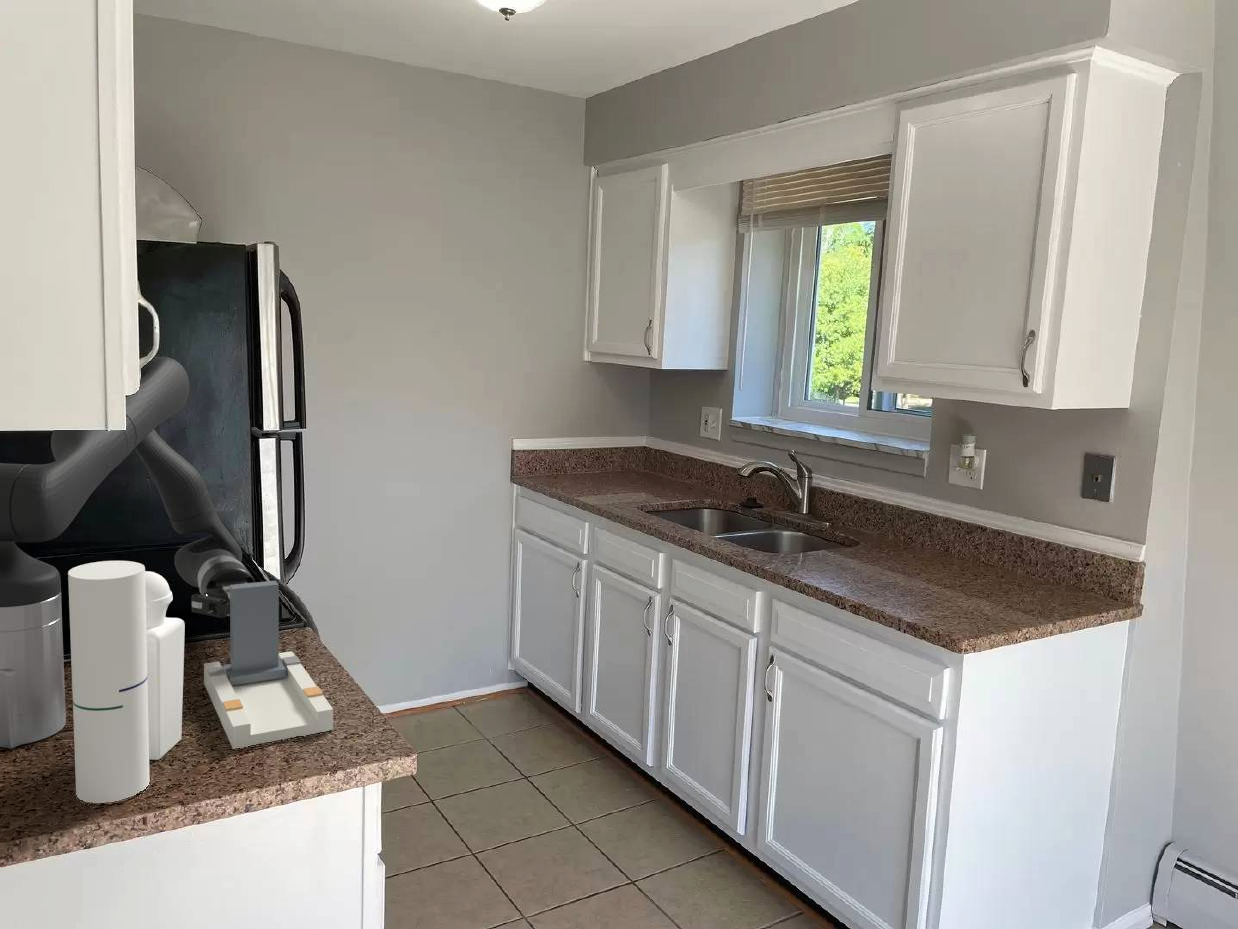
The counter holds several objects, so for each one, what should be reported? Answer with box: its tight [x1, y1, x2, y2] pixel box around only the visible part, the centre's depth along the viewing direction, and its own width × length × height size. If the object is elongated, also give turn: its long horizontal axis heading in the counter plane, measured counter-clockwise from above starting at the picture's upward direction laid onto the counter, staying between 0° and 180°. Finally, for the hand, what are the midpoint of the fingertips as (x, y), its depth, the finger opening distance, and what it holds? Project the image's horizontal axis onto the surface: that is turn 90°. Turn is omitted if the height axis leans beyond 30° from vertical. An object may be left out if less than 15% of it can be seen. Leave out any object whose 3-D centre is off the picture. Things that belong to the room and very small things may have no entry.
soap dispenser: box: [145, 570, 186, 761], centre depth 110 cm, size 6×6×22 cm
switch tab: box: [222, 580, 286, 686], centre depth 130 cm, size 5×7×13 cm
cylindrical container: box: [67, 560, 150, 803], centre depth 101 cm, size 7×7×25 cm
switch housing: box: [203, 651, 334, 750], centre depth 125 cm, size 22×12×3 cm, turn 32°
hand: (247, 616), depth 133 cm, fingers closed
